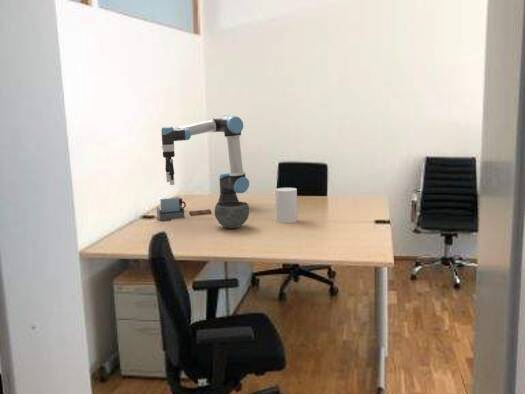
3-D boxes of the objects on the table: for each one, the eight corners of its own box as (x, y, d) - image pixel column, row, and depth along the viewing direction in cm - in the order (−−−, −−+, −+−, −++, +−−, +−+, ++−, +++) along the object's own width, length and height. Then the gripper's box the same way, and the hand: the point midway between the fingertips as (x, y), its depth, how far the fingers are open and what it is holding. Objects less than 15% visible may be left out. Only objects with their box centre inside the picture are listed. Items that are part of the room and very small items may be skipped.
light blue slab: (179, 215, 385) (178, 197, 383) (179, 215, 384) (179, 198, 382) (161, 217, 382) (160, 199, 380) (161, 217, 380) (160, 199, 378)
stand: (209, 213, 394) (209, 209, 394) (211, 215, 388) (211, 211, 387) (189, 215, 390) (188, 210, 390) (191, 217, 384) (191, 212, 383)
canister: (283, 217, 376) (282, 187, 373) (301, 219, 369) (300, 188, 365) (271, 221, 366) (270, 190, 362) (289, 223, 358) (289, 191, 354)
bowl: (242, 232, 339) (241, 207, 336) (209, 230, 346) (208, 205, 344) (254, 224, 358) (254, 200, 356) (223, 222, 366) (222, 199, 363)
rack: (180, 215, 391) (180, 204, 390) (184, 218, 379) (184, 208, 378) (157, 217, 387) (156, 206, 385) (159, 221, 374) (159, 210, 373)
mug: (183, 210, 406) (182, 196, 404) (187, 212, 399) (187, 198, 398) (169, 212, 401) (168, 198, 399) (173, 214, 394) (173, 199, 392)
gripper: (159, 149, 386) (161, 181, 390) (165, 153, 363) (167, 186, 367) (171, 148, 389) (173, 180, 392) (177, 152, 365) (179, 185, 369)
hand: (170, 183), depth 380 cm, fingers open, 13 cm apart
